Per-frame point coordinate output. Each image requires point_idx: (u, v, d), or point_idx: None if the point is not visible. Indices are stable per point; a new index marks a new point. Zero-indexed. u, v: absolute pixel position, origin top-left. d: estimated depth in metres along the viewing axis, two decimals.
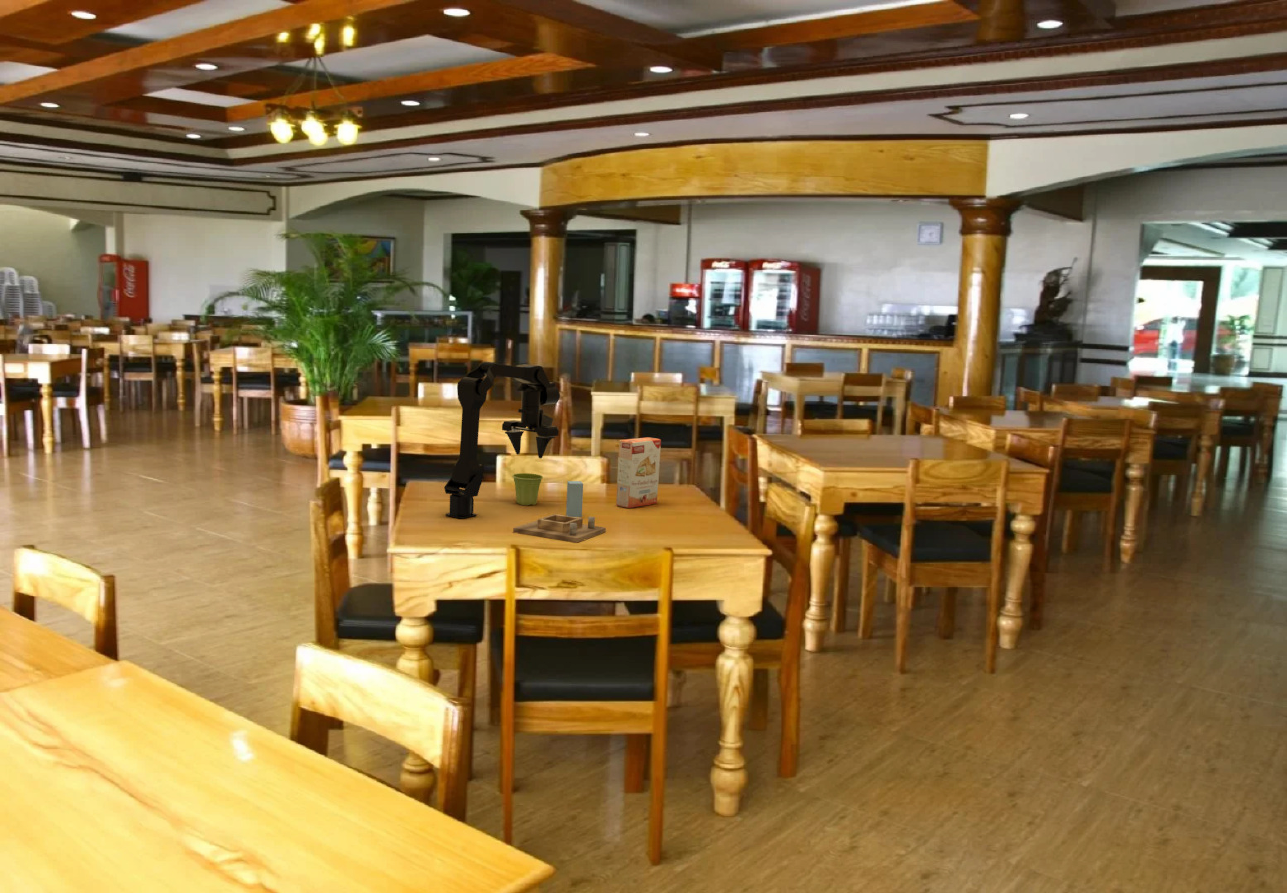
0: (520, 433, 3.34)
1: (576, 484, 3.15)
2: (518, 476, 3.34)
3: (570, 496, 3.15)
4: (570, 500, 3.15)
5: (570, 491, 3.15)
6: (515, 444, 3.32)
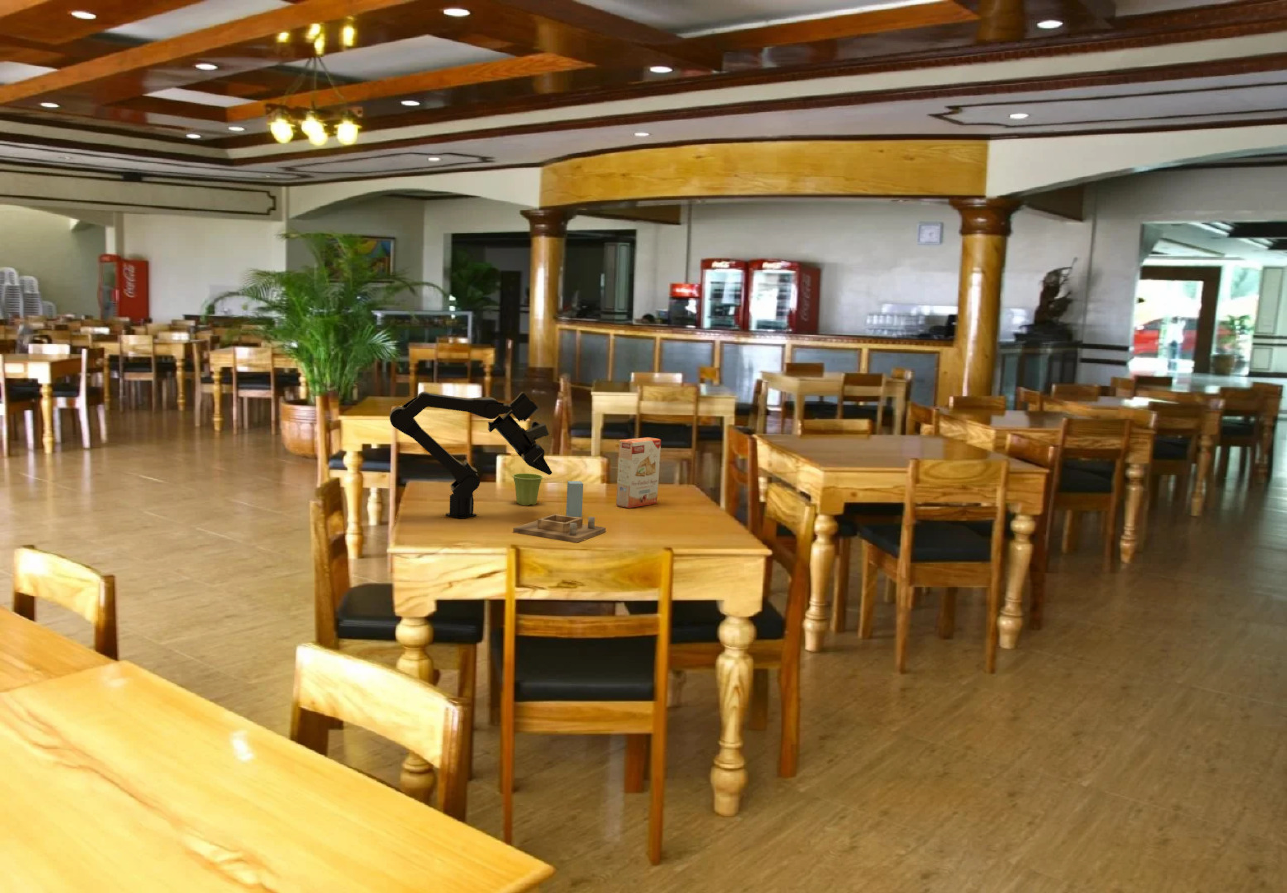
0: None
1: (576, 484, 3.15)
2: (518, 476, 3.34)
3: (570, 496, 3.15)
4: (570, 500, 3.15)
5: (570, 491, 3.15)
6: None
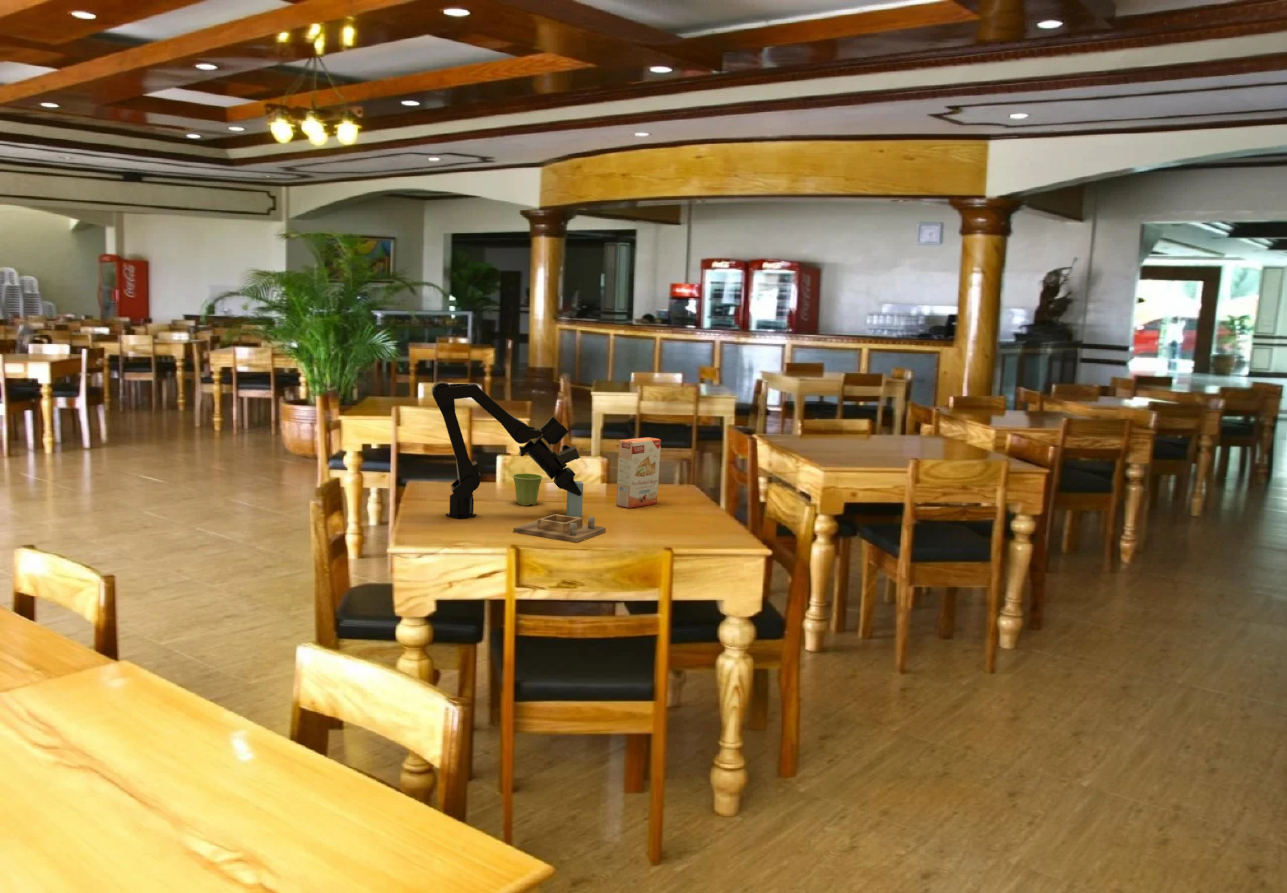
0: None
1: (576, 484, 3.15)
2: (518, 476, 3.34)
3: (570, 496, 3.15)
4: (570, 500, 3.15)
5: None
6: None
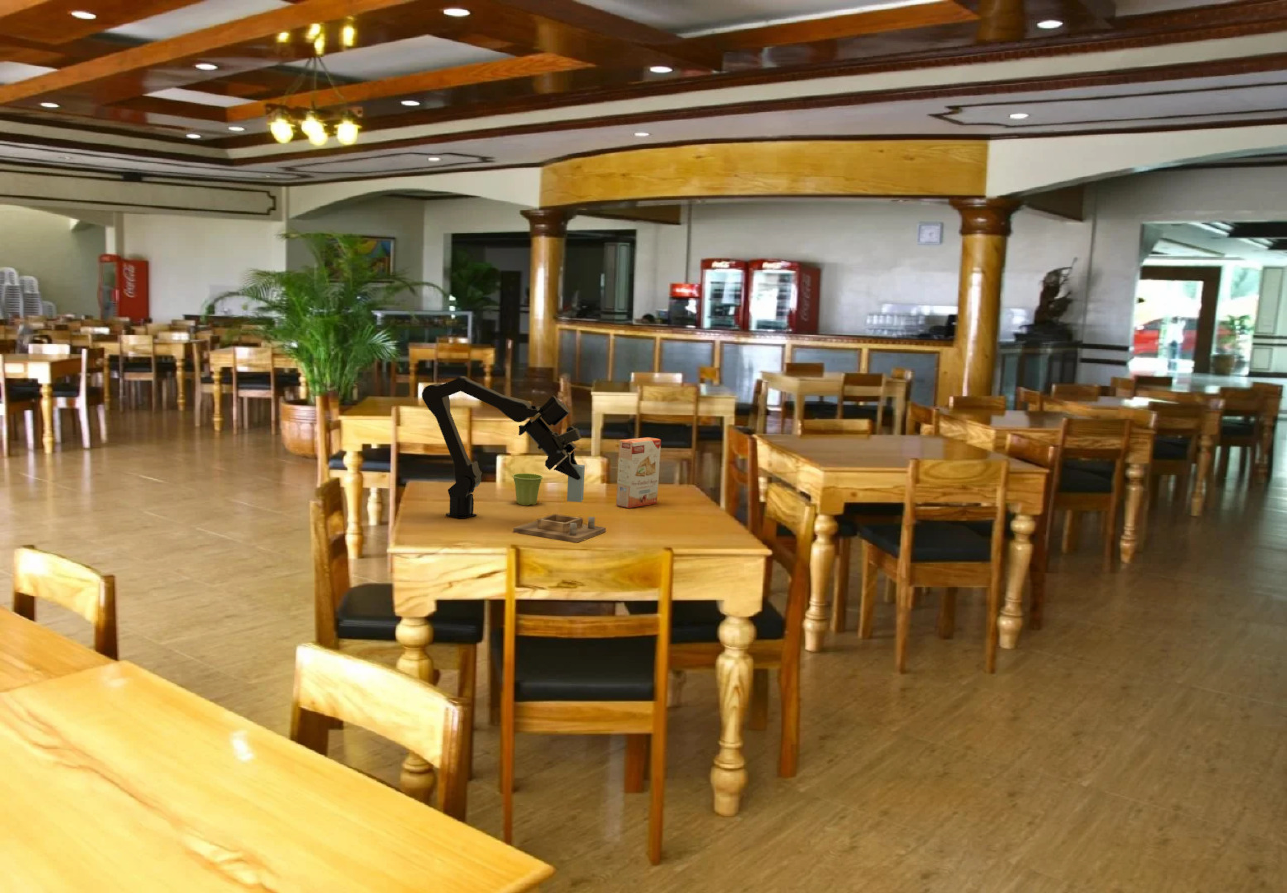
0: (570, 456, 3.07)
1: (575, 467, 3.02)
2: (518, 476, 3.34)
3: (569, 479, 3.03)
4: (569, 483, 3.03)
5: None
6: None
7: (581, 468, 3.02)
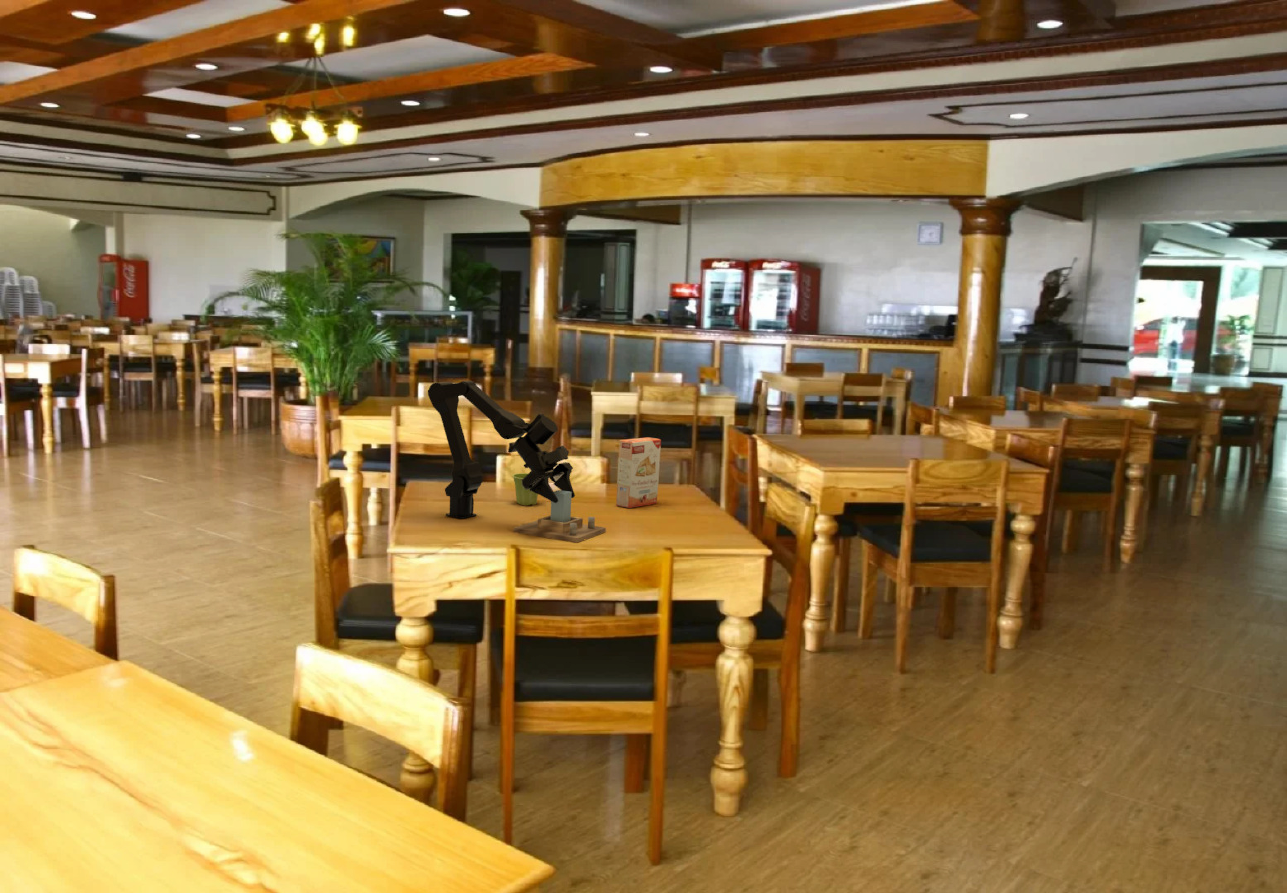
0: (564, 475, 2.99)
1: (557, 494, 2.92)
2: (518, 476, 3.34)
3: (552, 506, 2.94)
4: (552, 510, 2.94)
5: None
6: (564, 490, 2.99)
7: (563, 495, 2.92)
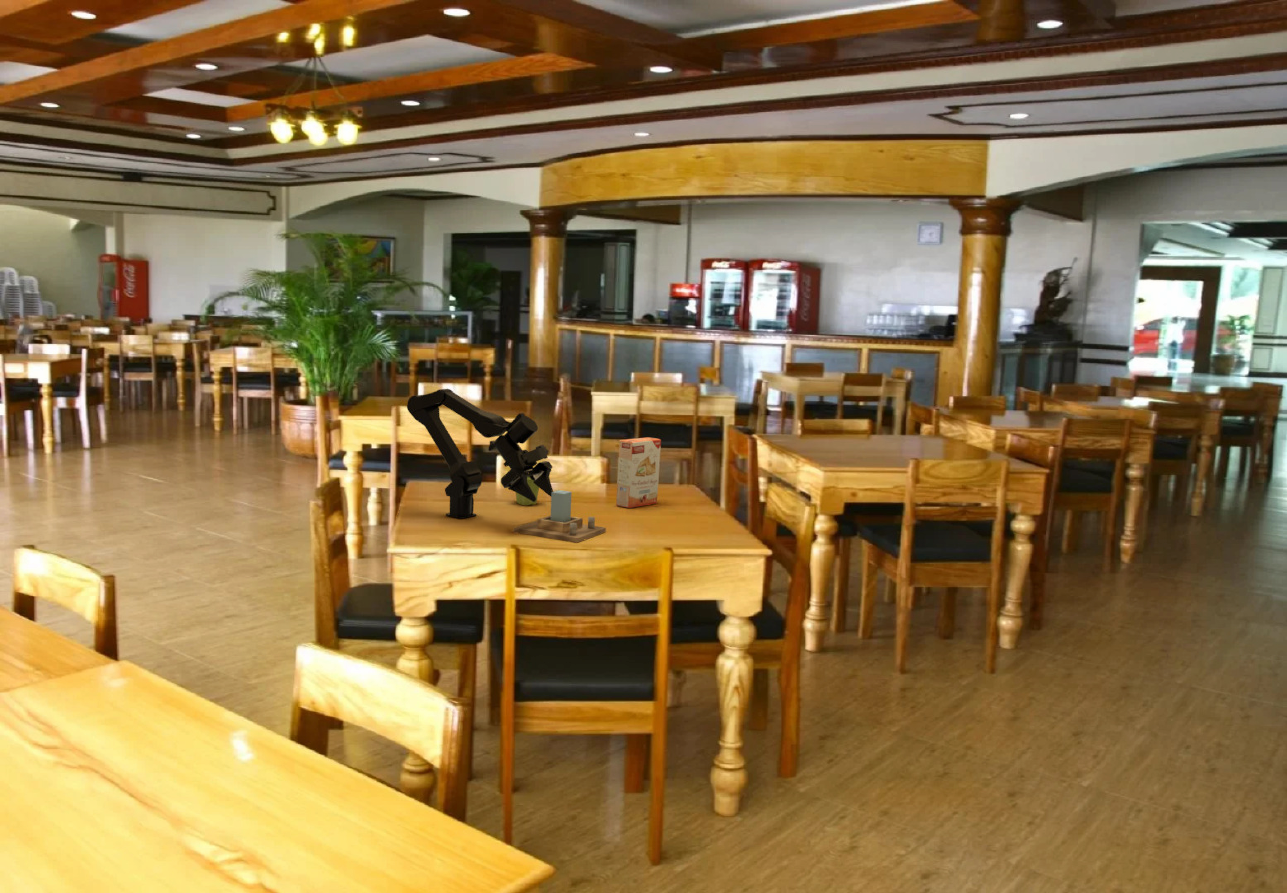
0: (543, 474, 3.02)
1: (557, 494, 2.92)
2: None
3: (552, 506, 2.94)
4: (552, 510, 2.94)
5: (552, 500, 2.93)
6: (543, 489, 3.02)
7: (563, 495, 2.92)
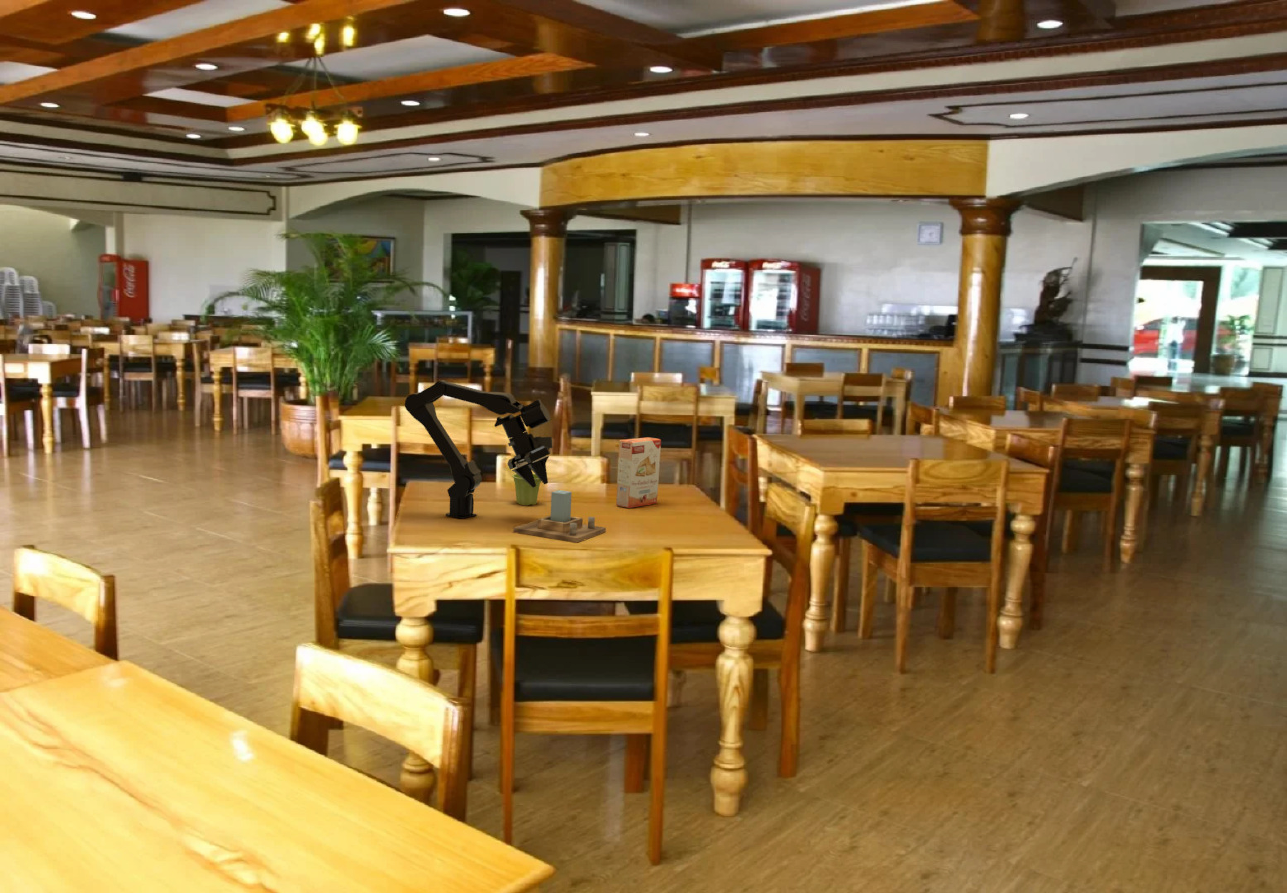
0: (528, 465, 3.10)
1: (557, 494, 2.92)
2: (518, 476, 3.34)
3: (552, 506, 2.94)
4: (552, 510, 2.94)
5: (552, 500, 2.93)
6: (526, 478, 3.09)
7: (563, 495, 2.92)
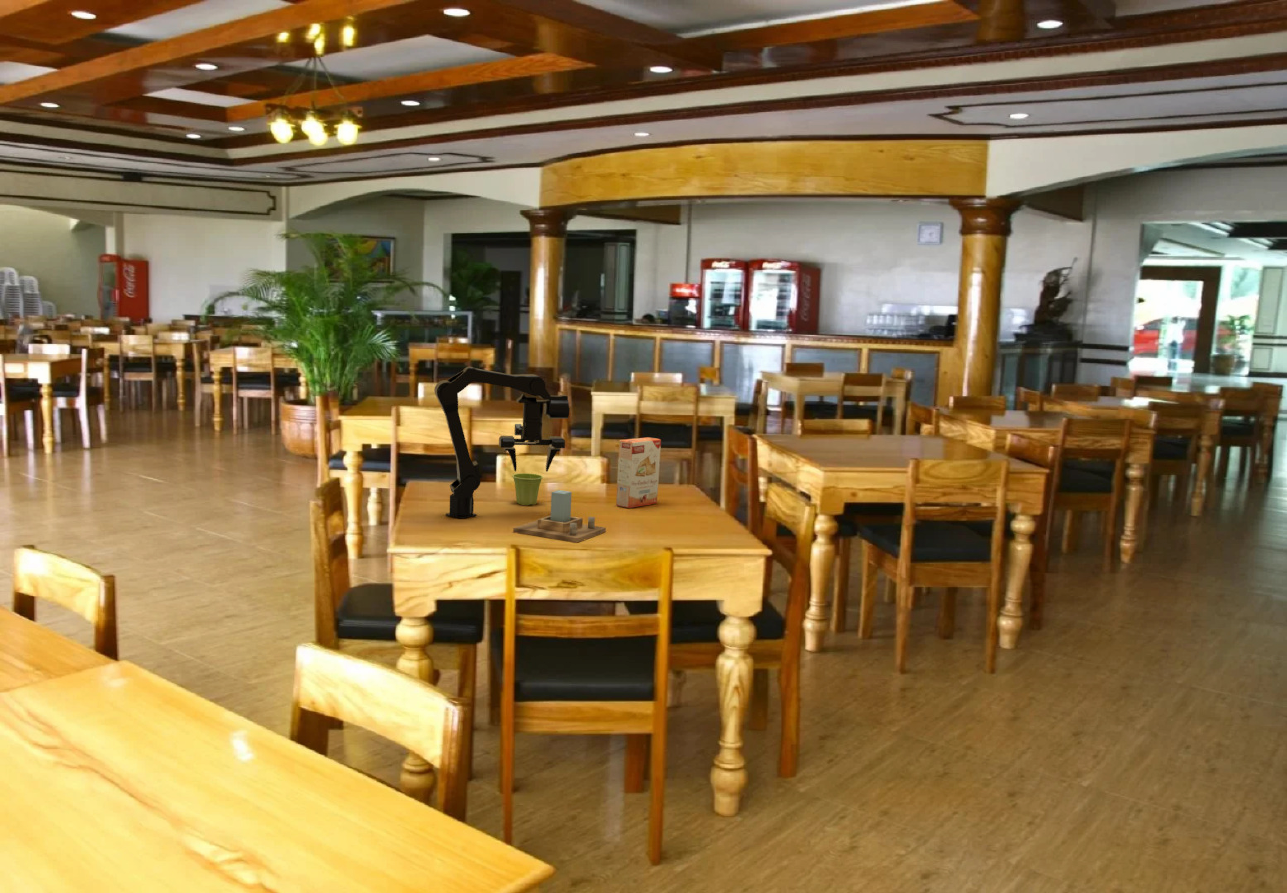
0: None
1: (557, 494, 2.92)
2: (518, 476, 3.34)
3: (552, 506, 2.94)
4: (552, 510, 2.94)
5: (552, 500, 2.93)
6: (515, 460, 3.11)
7: (563, 495, 2.92)
